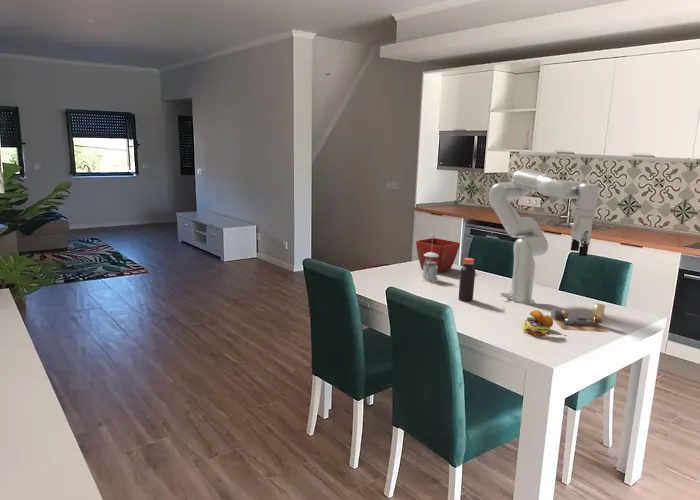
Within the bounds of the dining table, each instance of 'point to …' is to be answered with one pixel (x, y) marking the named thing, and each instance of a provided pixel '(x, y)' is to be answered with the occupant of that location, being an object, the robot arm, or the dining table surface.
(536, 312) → the cheeseburger
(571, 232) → the robot arm
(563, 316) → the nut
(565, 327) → the board
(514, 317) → the dining table surface
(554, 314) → the anvil
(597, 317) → the lever
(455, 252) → the plant pot
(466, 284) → the bottle
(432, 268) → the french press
